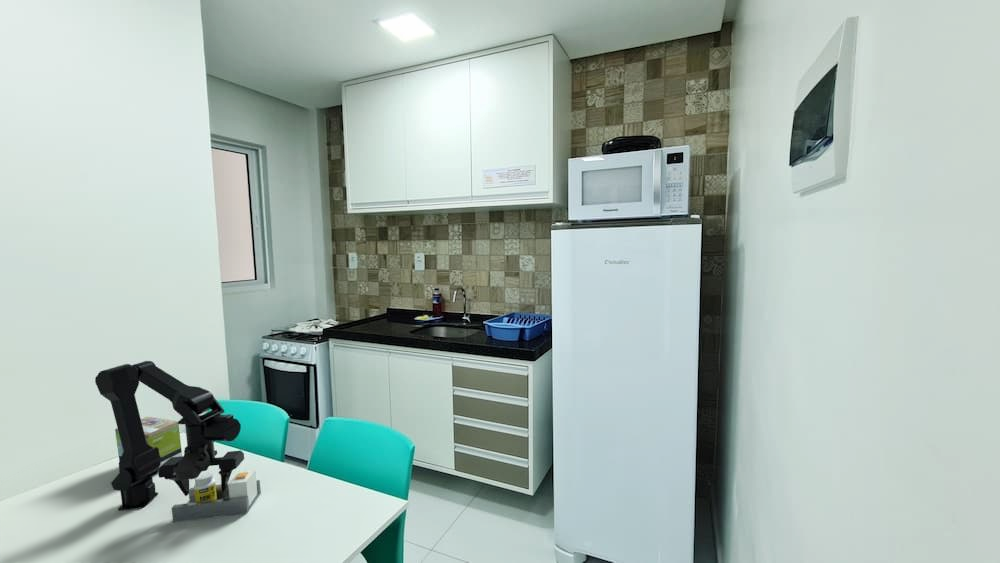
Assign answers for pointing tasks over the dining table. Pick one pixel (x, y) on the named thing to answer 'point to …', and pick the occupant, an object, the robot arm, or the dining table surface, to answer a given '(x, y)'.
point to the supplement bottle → (205, 487)
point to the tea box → (159, 437)
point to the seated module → (243, 485)
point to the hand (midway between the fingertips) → (205, 492)
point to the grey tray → (213, 505)
